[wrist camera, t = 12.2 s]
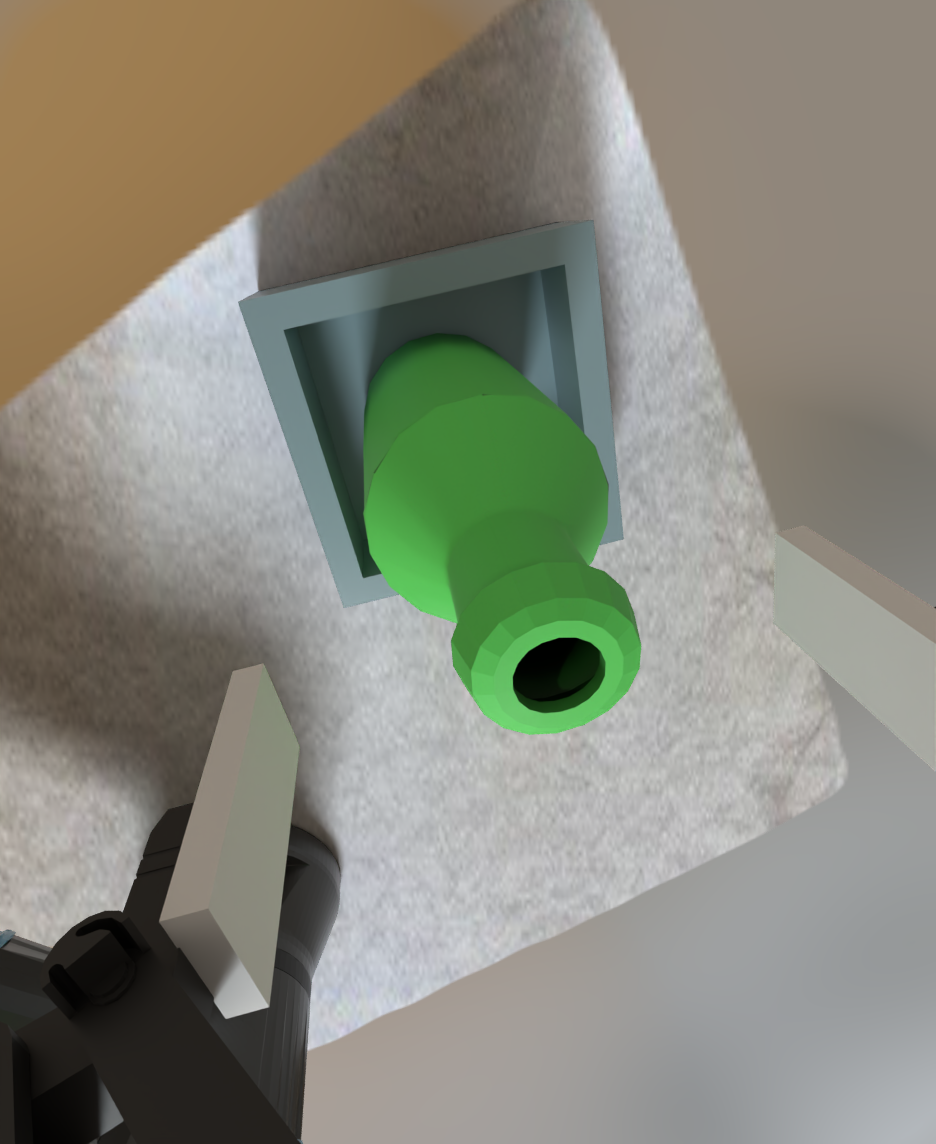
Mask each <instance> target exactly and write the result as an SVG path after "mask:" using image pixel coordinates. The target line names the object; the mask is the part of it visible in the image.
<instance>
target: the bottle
mask: <svg viewBox="0 0 936 1144" xmlns="http://www.w3.org/2000/svg"><path fill="white" fill-rule="evenodd" d="M363 458H364V512H363V515H364V521H365V527H366V533H367V539H368V545H369V552H370V555H371V556H372V558H373V560H374V561H375V563H376V565H377V566H378V568H379V570H380V571H381V573H382V575H383V576H384V578H385V580H386V581H387V583H388V585H389V586H390V587H391V588H392V589H393V590H395V591H396V592H397V593H398V594H400V595H401V596H402V597H403V598H405V599H406V600H407V601H409V602H410V603H411V604H412V605H414V606H415V607H416V608H417V609H419V610H420V611H422V612H425V613H428V614H431V615H434V616H437V617H440V618H443V619H446V620H449V621H452V622H455V623H457V626H456V629H455V631H454V634H453V637H452V640H451V645H452V657H453V666H454V668H455V670H456V671H457V673H458V675H459V677H460V678H461V680H462V682H463V683H464V685H465V687H466V688H467V690H468V691H469V693H470V694H471V696H472V697H473V699H474V700H475V702H476V703H477V705H478V706H479V708H480V709H481V711H482V712H483V714H484V715H486V716H487V717H489V718H490V719H491V720H493V721H494V722H496V723H497V724H498V725H500V726H501V727H503V728H506V729H510V730H513V731H517V732H521V733H525V734H529V735H530V734H550V733H559V732H562V731H566V730H569V729H572V728H575V727H578V726H582V725H585V724H586V723H588V722H590V721H591V720H593V719H595V718H597V717H598V716H600V715H602V714H603V713H605V712H607V711H609V710H610V709H611V708H612V707H613V706H614V705H615V704H616V703H617V702H618V701H619V700H620V699H621V698H622V697H623V696H624V695H625V694H626V693H627V692H628V690H629V688H630V686H631V684H632V682H633V680H634V678H635V676H636V674H637V672H638V670H639V667H640V654H641V642H640V638H639V633H638V629H637V624H636V620H635V616H634V612H633V609H632V607H631V604H630V602H629V599H628V597H627V594H626V592H625V589H624V588H623V587H621V586H620V585H619V584H618V583H617V582H616V581H615V580H614V579H613V578H611V577H610V576H609V575H608V574H607V573H606V572H605V571H602V570H599V569H596V568H593V567H590V566H589V565H590V564H591V563H592V561H593V559H594V557H595V554H596V552H597V549H598V547H599V544H600V542H601V539H602V537H603V534H604V532H605V529H606V526H607V524H608V491H609V484H608V481H607V478H606V475H605V472H604V470H603V467H602V464H601V461H600V458H599V455H598V452H597V450H596V447H595V445H594V444H593V443H592V442H591V440H590V439H589V438H588V437H587V436H586V435H585V434H584V433H583V432H582V430H581V429H580V428H579V427H578V426H577V425H576V424H575V423H574V422H573V421H572V419H571V418H570V417H569V416H568V415H567V414H566V413H565V412H564V411H563V410H561V409H560V408H559V407H558V406H557V405H556V404H555V403H554V402H552V401H551V400H550V399H549V398H548V397H547V396H546V395H545V394H543V393H542V392H541V391H540V390H539V389H538V388H537V387H535V386H534V385H533V384H532V383H531V382H530V381H529V380H528V379H526V378H525V377H524V376H523V375H522V374H521V373H520V372H518V371H517V370H516V369H515V368H514V367H513V366H512V365H510V364H509V363H508V362H507V361H506V360H505V359H503V358H502V357H501V356H500V355H499V354H498V353H496V352H495V351H494V350H493V349H492V348H490V347H488V346H486V345H484V344H482V343H480V342H478V341H476V340H474V339H472V338H470V337H468V336H466V335H455V334H443V333H435V334H432V335H428V336H425V337H421V338H418V339H414V340H411V341H408V342H407V343H406V344H404V345H403V346H402V347H400V348H399V349H398V350H396V351H395V352H394V353H392V354H391V355H390V356H388V357H387V358H386V359H385V360H384V362H383V363H382V365H381V366H380V368H379V370H378V371H377V373H376V374H375V376H374V378H373V379H372V381H371V382H370V385H369V390H368V394H367V399H366V404H365V409H364V439H363Z"/></svg>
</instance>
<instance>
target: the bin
mask: <svg viewBox="0 0 936 1144" xmlns="http://www.w3.org/2000/svg"><path fill="white" fill-rule="evenodd" d="M238 303H239V306H240V309H241V312H242V315H243V318H244V321H245V324H246V327H247V329H248V332H249V335H250V338H251V341H252V344H253V347H254V350H255V353H256V355H257V358H258V361H259V364H260V367H261V370H262V373H263V376H264V379H265V381H266V384H267V387H268V390H269V393H270V396H271V399H272V402H273V405H274V407H275V410H276V413H277V416H278V419H279V422H280V425H281V428H282V431H283V433H284V436H285V439H286V442H287V445H288V448H289V451H290V454H291V457H292V459H293V462H294V465H295V468H296V471H297V474H298V477H299V480H300V483H301V485H302V488H303V491H304V494H305V497H306V500H307V503H308V506H309V509H310V511H311V514H312V517H313V520H314V523H315V526H316V529H317V532H318V535H319V537H320V540H321V543H322V546H323V549H324V552H325V555H326V558H327V561H328V563H329V566H330V569H331V572H332V575H333V578H334V581H335V584H336V587H337V590H338V592H339V595H340V598H341V601H342V604H343V607H344V608H346V607H350V606H354V605H359V604H363V603H367V602H371V601H375V600H379V599H383V598H387V597H391V596H395V595H399V594H398V593H397V592H396V591H395V590H393V589H392V588H391V587H390V586H389V585H388V583H387V581H386V580H385V578H384V576H383V575H382V573H381V571H380V570H379V568H378V566H377V565H376V563H375V561H374V560H373V558H372V556H371V555H370V552H369V545H368V539H367V533H366V527H365V521H364V515H363V512H364V458H363V439H364V409H365V404H366V399H367V394H368V390H369V385H370V382H371V381H372V379H373V378H374V376H375V374H376V373H377V371H378V370H379V368H380V366H381V365H382V363H383V362H384V360H385V359H386V358H387V357H388V356H390V355H391V354H392V353H394V352H395V351H396V350H398V349H399V348H400V347H402V346H403V345H404V344H406V343H407V342H408V341H411V340H414V339H418V338H421V337H425V336H428V335H432V334H435V333H443V334H455V335H466V336H468V337H470V338H472V339H474V340H476V341H478V342H480V343H482V344H484V345H486V346H488V347H490V348H492V349H493V350H494V351H495V352H496V353H498V354H499V355H500V356H501V357H502V358H503V359H505V360H506V361H507V362H508V363H509V364H510V365H512V366H513V367H514V368H515V369H516V370H517V371H518V372H520V373H521V374H522V375H523V376H524V377H525V378H526V379H528V380H529V381H530V382H531V383H532V384H533V385H534V386H535V387H537V388H538V389H539V390H540V391H541V392H542V393H543V394H545V395H546V396H547V397H548V398H549V399H550V400H551V401H552V402H554V403H555V404H556V405H557V406H558V407H559V408H560V409H561V410H563V411H564V412H565V413H566V414H567V415H568V416H569V417H570V418H571V419H572V421H573V422H574V423H575V424H576V425H577V426H578V427H579V428H580V429H581V430H582V432H583V433H584V434H585V435H586V436H587V437H588V438H589V439H590V440H591V442H592V443H593V444H594V445H595V447H596V450H597V452H598V455H599V458H600V461H601V464H602V467H603V470H604V472H605V475H606V478H607V481H608V484H609V491H608V524H607V526H606V529H605V532H604V534H603V537H602V539H601V542H600V544H599V545H602V544H606V543H610V542H614V541H618V540H622V539H624V538H623V527H622V516H621V506H620V495H619V485H618V474H617V464H616V453H615V443H614V432H613V422H612V411H611V400H610V390H609V379H608V369H607V358H606V348H605V337H604V327H603V316H602V306H601V295H600V284H599V274H598V263H597V253H596V242H595V232H594V221H593V220H584V221H568V222H556V223H552V224H548V225H543V226H539V227H535V228H530V229H526V230H522V231H517V232H513V233H509V234H504V235H500V236H496V237H491V238H487V239H483V240H479V241H474V242H470V243H466V244H461V245H457V246H453V247H448V248H444V249H440V250H435V251H431V252H427V253H422V254H418V255H414V256H409V257H405V258H401V259H396V260H392V261H388V262H383V263H379V264H375V265H370V266H366V267H362V268H357V269H353V270H349V271H345V272H340V273H336V274H332V275H327V276H323V277H319V278H314V279H310V280H306V281H301V282H297V283H293V284H288V285H284V286H280V287H275V288H271V289H267V290H262V291H258V292H256V293H254V294H252V295H251V296H249V297H247V298H245V299H243V300H241V301H239V302H238Z"/></svg>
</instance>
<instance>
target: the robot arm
mask: <svg viewBox="0 0 936 1144" xmlns="http://www.w3.org/2000/svg"><path fill="white" fill-rule="evenodd" d="M773 623H774V624H775V625H776V626H777V627H778V628H779V629H780V630H781V631H782V632H783V633H784V634H786V635H787V636H788V637H789V638H790V639H791V640H792V641H793V642H794V643H795V644H796V645H798V646H799V647H800V648H801V649H802V650H803V651H804V652H805V653H806V654H807V655H808V656H810V657H811V658H812V659H813V660H814V661H815V662H816V663H817V664H818V665H819V666H820V667H822V668H823V669H824V670H825V671H826V672H827V673H828V674H829V675H830V676H831V677H833V678H834V679H835V680H836V681H837V682H838V683H839V684H840V685H841V686H842V687H843V688H844V689H846V690H847V691H848V692H849V693H850V694H851V695H852V696H853V697H854V698H855V699H856V700H858V701H859V702H860V703H861V704H862V705H863V706H864V707H865V708H866V709H867V710H869V711H870V712H871V713H872V714H873V715H874V716H875V717H876V718H877V719H878V720H879V721H881V722H882V723H883V724H884V725H885V726H886V727H887V728H888V729H889V730H890V731H891V732H893V733H894V734H895V735H896V736H897V737H898V738H899V739H900V740H901V741H902V742H903V743H905V744H906V745H907V746H908V747H909V748H910V749H911V750H912V751H913V752H914V753H916V754H917V755H918V756H919V757H920V758H921V759H922V760H923V761H924V762H925V763H926V764H927V765H929V766H930V767H931V768H932V769H933V770H934V771H935V772H936V607H932V606H931V605H929V604H928V603H926V602H924V601H923V600H921V599H919V598H918V597H917V596H915V595H913V594H912V593H910V592H908V591H907V590H905V589H904V588H902V587H901V586H899V585H898V584H896V583H894V582H893V581H891V580H889V579H888V578H886V577H885V576H883V575H882V574H880V573H879V572H877V571H875V570H874V569H872V568H871V567H869V566H867V565H866V564H864V563H863V562H861V561H860V560H858V559H856V558H855V557H853V556H852V555H850V554H849V553H847V552H845V551H844V550H842V549H841V548H839V547H837V546H836V545H834V544H832V543H831V542H830V541H828V540H826V539H825V538H823V537H821V536H820V535H819V534H817V533H815V532H814V531H812V530H811V529H809V528H807V527H806V526H800V527H797V528H793V529H789V530H785V531H781V532H777V533H775V571H774V612H773ZM299 749H300V746H299V744H298V741H297V739H296V737H295V734H294V732H293V730H292V727H291V725H290V723H289V720H288V718H287V716H286V714H285V711H284V709H283V707H282V704H281V702H280V700H279V697H278V695H277V693H276V690H275V688H274V686H273V684H272V681H271V679H270V677H269V674H268V672H267V670H266V667H265V665H264V663H263V664H259V665H255V666H251V667H247V668H243V669H239V670H235V671H233V672H232V675H231V679H230V682H229V686H228V689H227V692H226V696H225V699H224V703H223V706H222V709H221V713H220V716H219V720H218V723H217V726H216V730H215V733H214V737H213V740H212V743H211V747H210V750H209V754H208V757H207V760H206V764H205V767H204V771H203V774H202V777H201V781H200V784H199V788H198V791H197V794H196V798H195V801H194V803H191V804H187V805H183V806H180V807H176V808H172V809H168V810H167V812H166V813H165V814H164V816H163V817H162V818H161V820H160V821H159V822H158V824H157V825H156V826H155V828H154V829H153V830H152V832H151V834H150V837H149V840H148V842H147V845H146V848H145V851H144V854H143V860H141V862H140V865H139V868H138V871H137V874H136V876H137V879H135V880H134V882H133V885H132V888H131V891H130V893H129V896H128V899H127V902H126V905H125V908H124V910H123V913H122V912H121V911H104V912H101V913H98V914H95V915H92V916H90V917H88V918H86V919H85V920H83V921H82V922H80V923H78V924H77V925H75V926H74V927H72V928H71V929H70V930H69V931H68V932H67V933H66V934H65V935H64V936H63V937H62V938H61V939H60V940H59V941H58V942H57V943H56V944H55V945H54V947H53V948H50V947H47V946H44V945H41V944H38V943H35V942H33V941H30V940H27V939H24V938H21V937H18V936H15V933H16V932H14V931H12V930H6V931H3V932H1V931H0V1144H303V1142H302V1141H301V1134H302V1118H303V1104H304V1089H305V1074H306V1059H307V1044H308V1029H309V1014H310V996H311V985H312V978H313V975H314V973H315V970H316V968H317V965H318V963H319V960H320V958H321V955H322V953H323V950H324V947H325V945H326V942H327V940H328V937H329V935H330V932H331V930H332V927H333V924H334V922H335V920H336V917H337V914H338V909H339V902H340V871H339V867H338V864H337V862H336V860H335V858H334V856H333V855H332V853H331V852H330V851H329V850H328V848H327V847H326V846H325V845H324V844H322V843H321V842H320V841H319V840H318V839H316V838H315V837H313V836H312V835H310V834H308V833H307V832H305V831H303V830H301V829H298V828H296V827H293V826H291V817H292V809H293V800H294V791H295V783H296V774H297V766H298V757H299Z"/></svg>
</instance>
